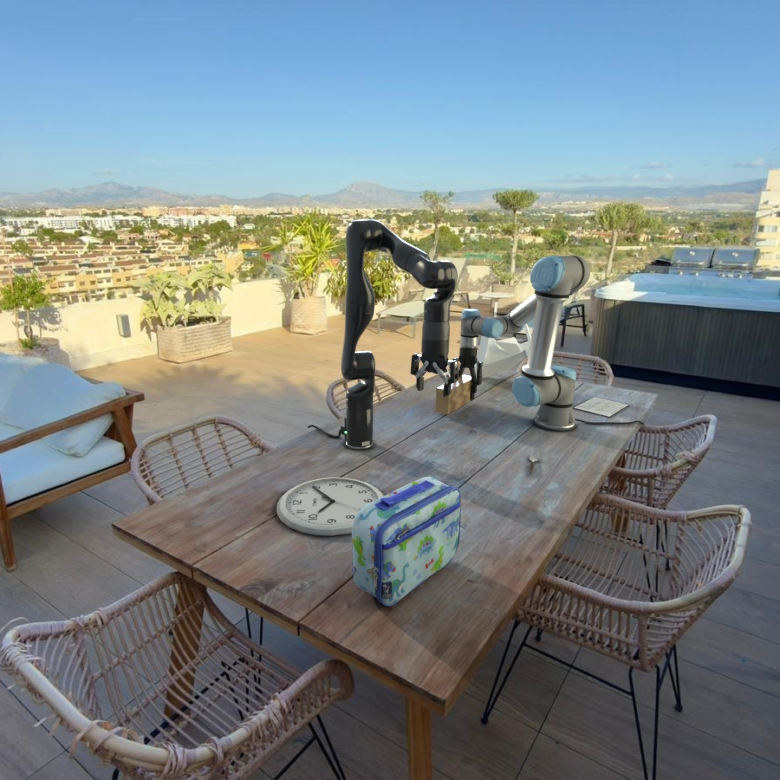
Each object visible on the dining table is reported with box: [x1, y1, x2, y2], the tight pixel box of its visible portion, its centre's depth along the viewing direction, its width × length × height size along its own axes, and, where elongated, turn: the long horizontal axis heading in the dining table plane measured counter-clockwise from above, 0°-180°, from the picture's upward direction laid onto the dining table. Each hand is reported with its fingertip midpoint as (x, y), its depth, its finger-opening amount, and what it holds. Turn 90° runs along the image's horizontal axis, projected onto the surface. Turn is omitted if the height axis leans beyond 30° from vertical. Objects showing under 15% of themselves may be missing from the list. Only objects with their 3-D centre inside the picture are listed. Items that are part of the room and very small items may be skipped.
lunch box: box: [351, 476, 462, 607], centre depth 111 cm, size 26×11×21 cm, turn 135°
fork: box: [529, 450, 539, 475], centre depth 168 cm, size 3×16×2 cm, turn 160°
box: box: [434, 374, 475, 415], centre depth 218 cm, size 25×6×10 cm, turn 146°
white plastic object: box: [467, 323, 532, 377], centre depth 259 cm, size 37×45×31 cm
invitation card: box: [573, 396, 629, 418], centre depth 226 cm, size 21×1×15 cm
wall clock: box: [276, 476, 385, 537], centre depth 142 cm, size 30×2×30 cm
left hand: (433, 393), depth 147 cm, fingers open, 8 cm apart
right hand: (465, 398), depth 227 cm, fingers closed on box, 6 cm apart
